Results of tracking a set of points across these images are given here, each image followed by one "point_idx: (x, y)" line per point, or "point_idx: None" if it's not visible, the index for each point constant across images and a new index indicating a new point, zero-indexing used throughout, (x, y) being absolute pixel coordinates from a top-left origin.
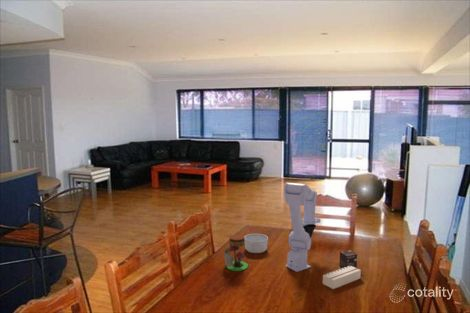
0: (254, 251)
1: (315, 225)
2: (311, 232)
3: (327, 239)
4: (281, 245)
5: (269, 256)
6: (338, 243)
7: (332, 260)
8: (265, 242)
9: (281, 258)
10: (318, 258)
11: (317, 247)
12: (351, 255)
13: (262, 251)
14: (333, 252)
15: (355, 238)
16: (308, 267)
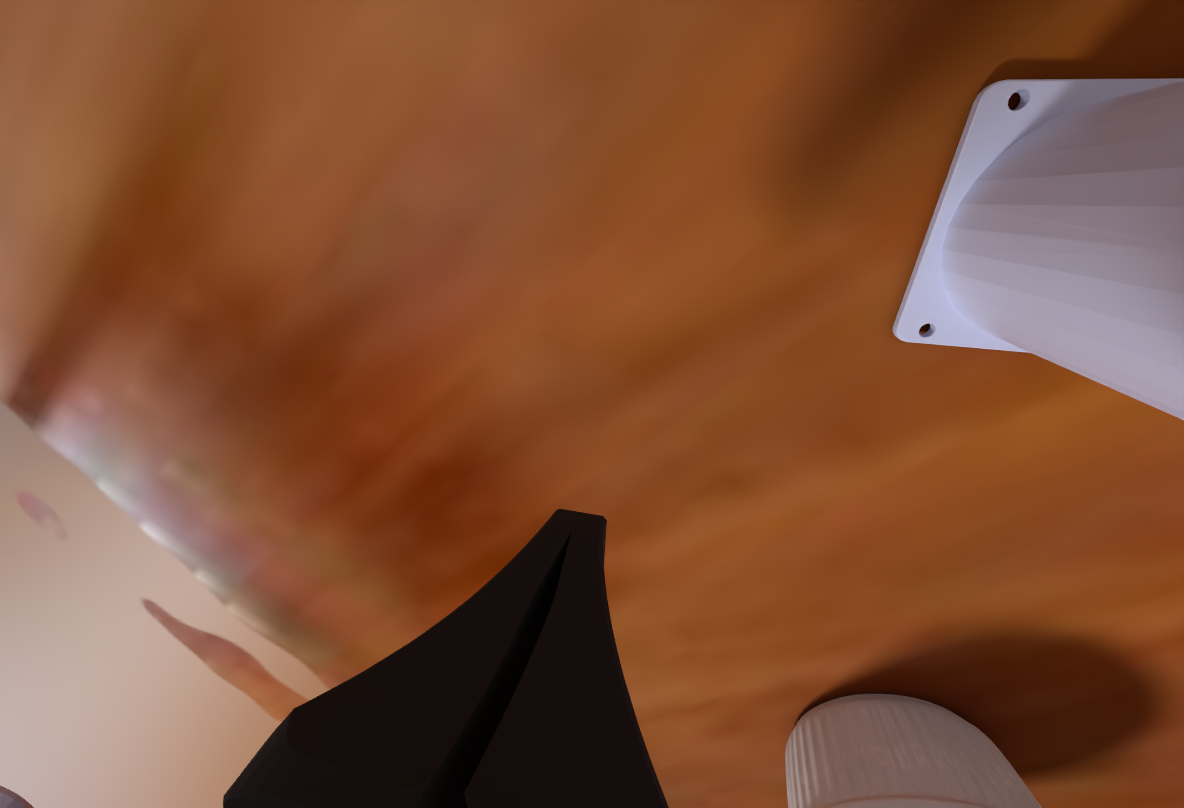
0: (996, 747)
1: (260, 797)
2: (531, 600)
3: (238, 493)
4: (643, 658)
5: (961, 621)
6: (190, 385)
7: (511, 89)
8: (946, 803)
9: (929, 526)
10: (609, 261)
11: (413, 452)
12: None
13: (919, 705)
14: (348, 269)
15: (7, 358)
16: (1061, 79)
